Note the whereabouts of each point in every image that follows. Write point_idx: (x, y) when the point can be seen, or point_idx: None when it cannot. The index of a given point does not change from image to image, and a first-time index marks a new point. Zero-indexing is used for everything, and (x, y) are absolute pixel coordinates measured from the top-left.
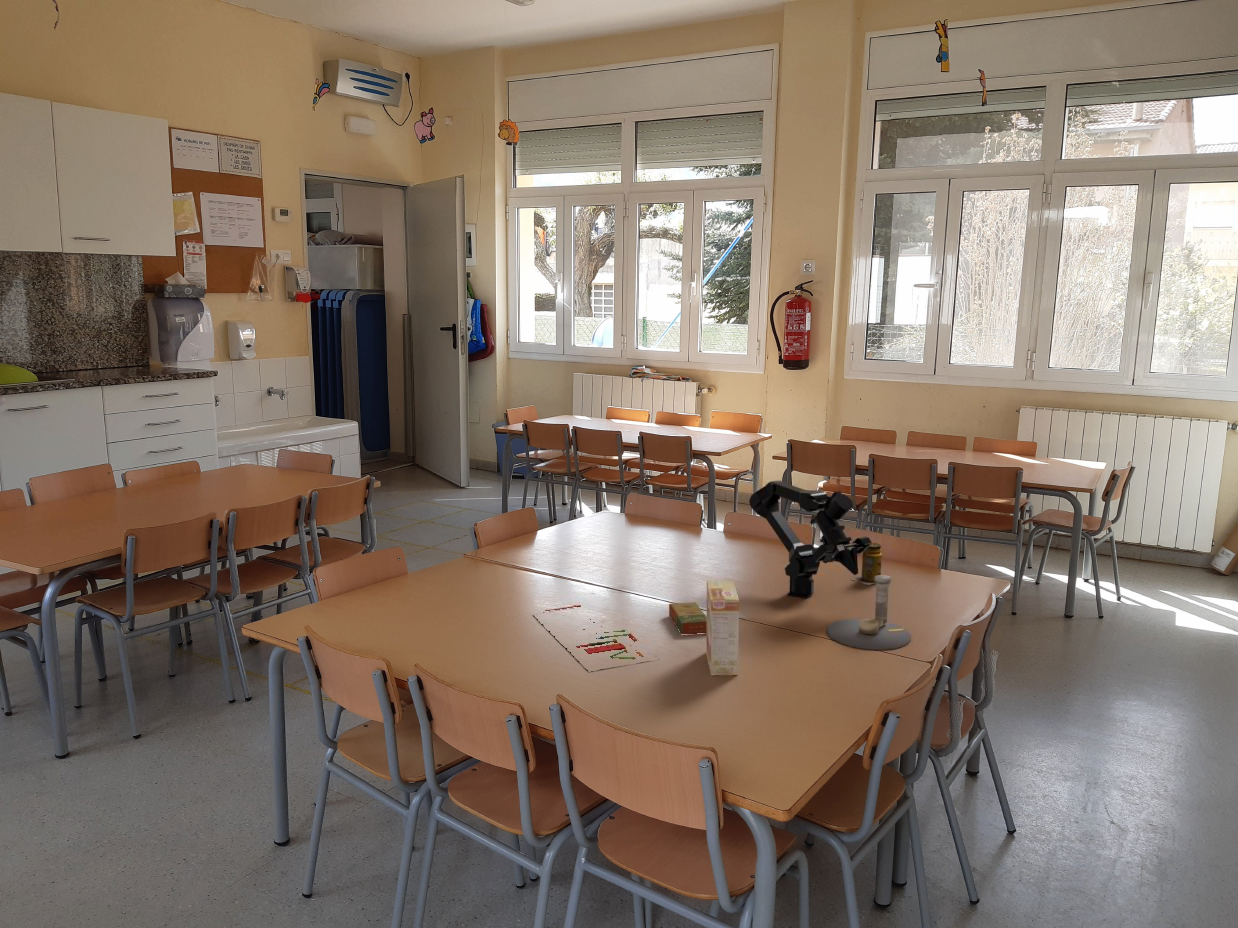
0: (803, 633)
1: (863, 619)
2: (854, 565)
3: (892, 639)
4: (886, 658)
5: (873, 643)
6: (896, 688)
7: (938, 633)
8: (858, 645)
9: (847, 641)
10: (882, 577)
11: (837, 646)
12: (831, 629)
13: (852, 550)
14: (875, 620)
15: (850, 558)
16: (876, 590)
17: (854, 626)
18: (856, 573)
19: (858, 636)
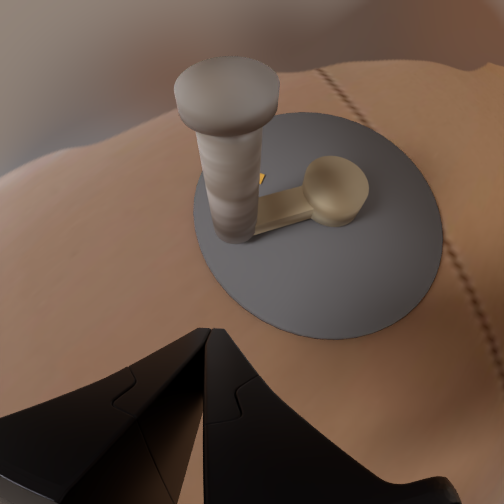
0: (482, 314)
1: (339, 206)
2: (210, 354)
3: (303, 139)
4: (380, 106)
5: (368, 149)
6: (422, 64)
7: (150, 127)
8: (409, 162)
9: (422, 192)
10: (228, 83)
11: (447, 198)
12: (417, 282)
13: (94, 473)
14: (306, 178)
15: (244, 399)
16: (256, 154)
17: (333, 263)
18: (220, 330)
19: (376, 198)
